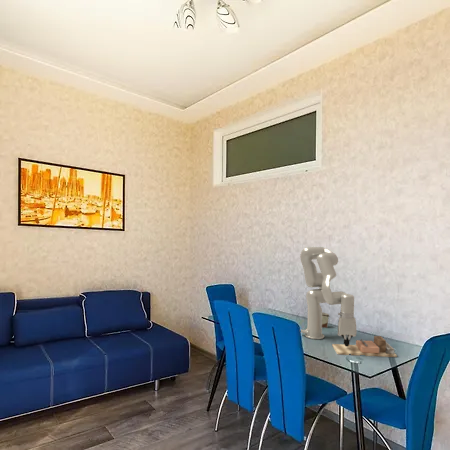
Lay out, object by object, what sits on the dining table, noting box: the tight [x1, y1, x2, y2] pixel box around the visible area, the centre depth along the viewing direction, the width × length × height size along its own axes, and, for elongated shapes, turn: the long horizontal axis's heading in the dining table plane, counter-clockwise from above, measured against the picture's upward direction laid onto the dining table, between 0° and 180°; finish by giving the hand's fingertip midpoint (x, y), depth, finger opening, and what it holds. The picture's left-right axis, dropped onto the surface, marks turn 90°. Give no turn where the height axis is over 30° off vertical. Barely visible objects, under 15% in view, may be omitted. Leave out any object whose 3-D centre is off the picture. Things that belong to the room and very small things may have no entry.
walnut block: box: [373, 335, 387, 353], centre depth 203 cm, size 4×8×7 cm, turn 175°
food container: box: [322, 311, 330, 329], centre depth 253 cm, size 12×6×10 cm, turn 84°
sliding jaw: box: [355, 338, 380, 353], centre depth 204 cm, size 10×12×4 cm
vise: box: [331, 341, 398, 358], centre depth 204 cm, size 33×14×4 cm, turn 85°
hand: (346, 345), depth 205 cm, fingers closed
